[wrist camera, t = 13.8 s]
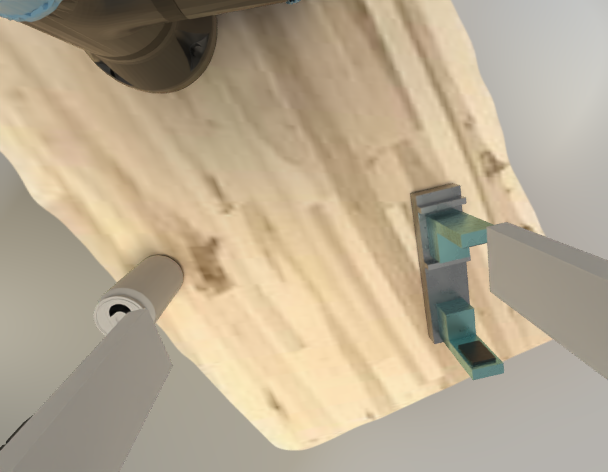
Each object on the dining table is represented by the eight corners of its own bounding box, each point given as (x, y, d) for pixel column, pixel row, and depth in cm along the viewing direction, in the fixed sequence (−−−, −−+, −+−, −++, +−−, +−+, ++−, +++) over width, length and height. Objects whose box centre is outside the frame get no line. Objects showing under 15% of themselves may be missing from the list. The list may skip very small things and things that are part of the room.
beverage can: (183, 253, 44) (147, 293, 33) (186, 294, 46) (153, 345, 35) (137, 252, 44) (84, 293, 32) (142, 293, 46) (93, 345, 34)
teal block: (425, 215, 42) (460, 234, 34) (454, 208, 42) (497, 226, 34) (430, 255, 44) (464, 283, 36) (458, 248, 44) (499, 275, 35)
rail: (410, 193, 43) (449, 211, 33) (452, 183, 43) (505, 197, 33) (428, 336, 51) (465, 387, 40) (465, 327, 50) (511, 377, 40)
